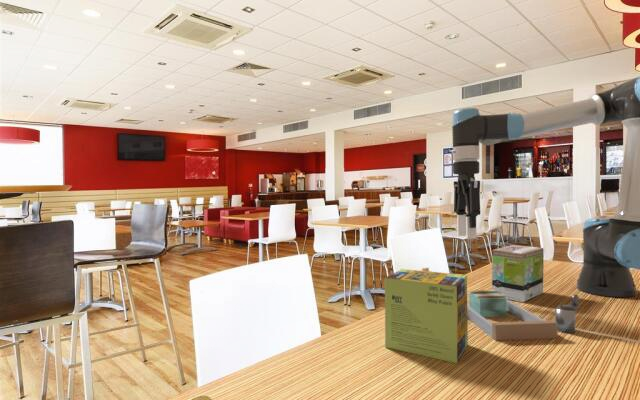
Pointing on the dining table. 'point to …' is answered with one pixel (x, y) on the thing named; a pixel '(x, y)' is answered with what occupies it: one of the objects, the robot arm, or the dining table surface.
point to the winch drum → (566, 316)
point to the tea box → (518, 272)
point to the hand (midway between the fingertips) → (466, 236)
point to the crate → (488, 303)
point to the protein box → (426, 313)
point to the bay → (515, 325)
